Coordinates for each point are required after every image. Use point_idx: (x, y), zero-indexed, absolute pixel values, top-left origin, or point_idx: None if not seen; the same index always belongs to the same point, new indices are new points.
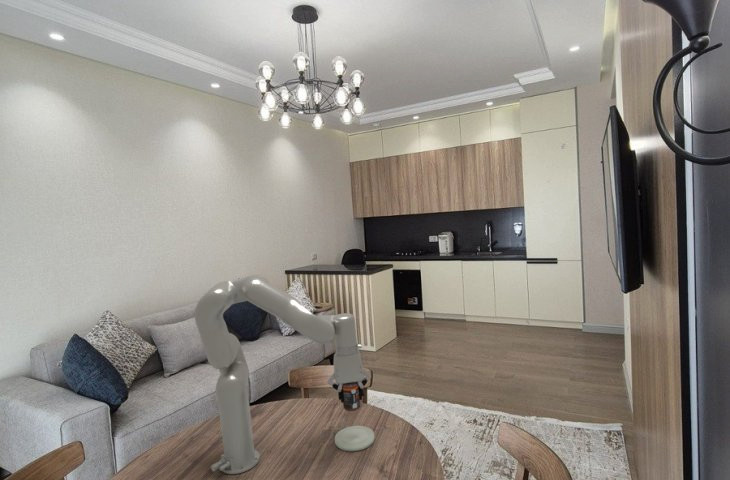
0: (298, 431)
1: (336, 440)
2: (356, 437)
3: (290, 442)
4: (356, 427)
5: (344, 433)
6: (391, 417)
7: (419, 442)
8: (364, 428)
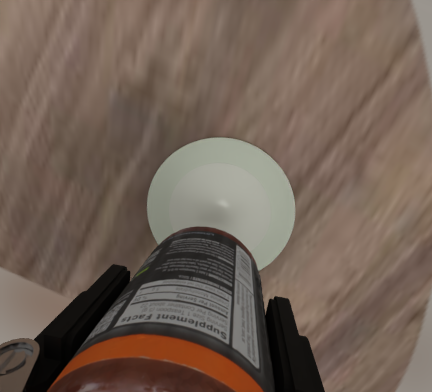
0: (27, 45)
1: (152, 209)
2: (222, 226)
3: (4, 117)
4: (244, 157)
5: (188, 180)
6: (424, 110)
7: (412, 314)
8: (271, 179)
